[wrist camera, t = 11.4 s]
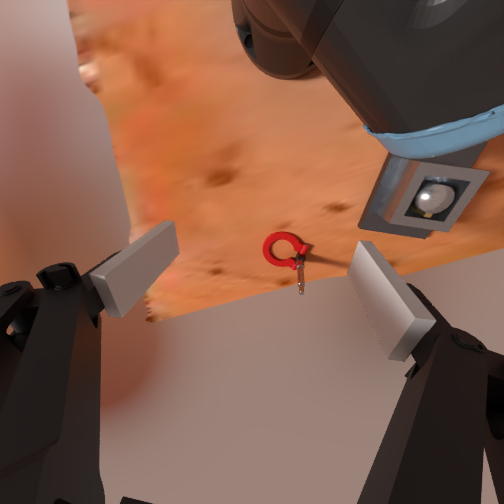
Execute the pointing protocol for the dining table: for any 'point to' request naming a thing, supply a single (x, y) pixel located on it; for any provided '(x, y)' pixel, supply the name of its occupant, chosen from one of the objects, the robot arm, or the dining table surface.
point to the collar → (408, 184)
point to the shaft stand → (426, 198)
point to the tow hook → (293, 263)
